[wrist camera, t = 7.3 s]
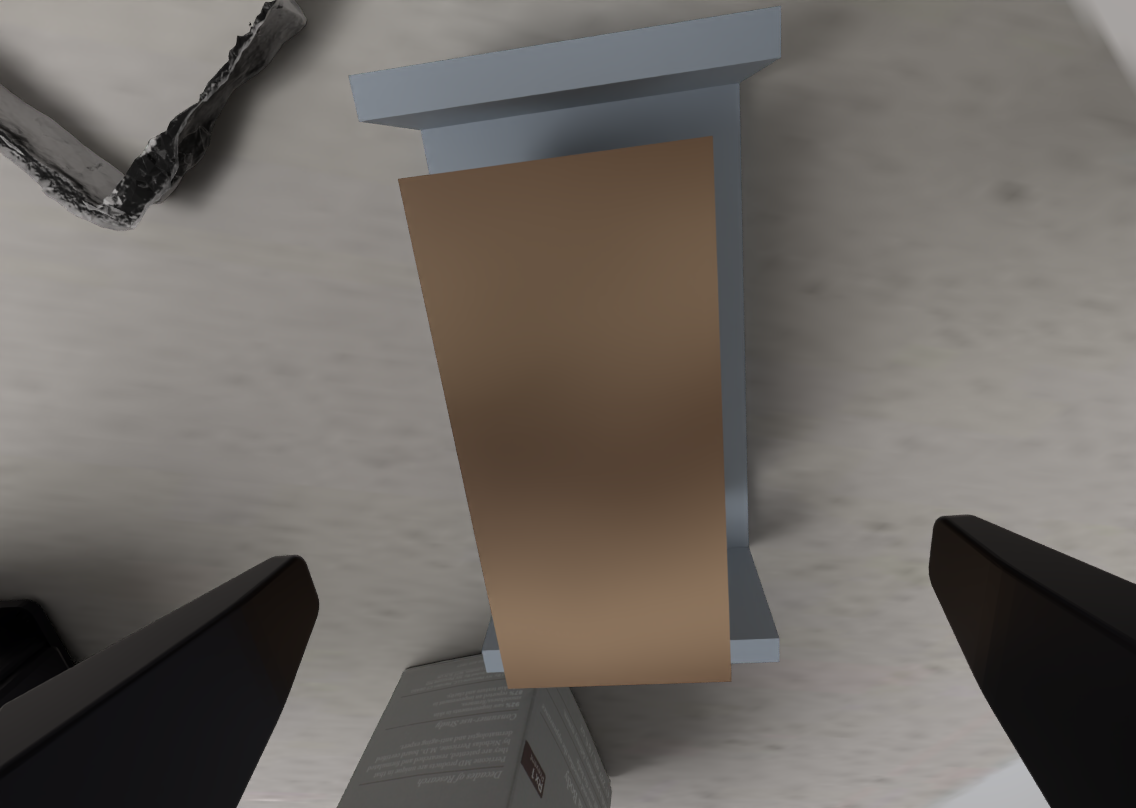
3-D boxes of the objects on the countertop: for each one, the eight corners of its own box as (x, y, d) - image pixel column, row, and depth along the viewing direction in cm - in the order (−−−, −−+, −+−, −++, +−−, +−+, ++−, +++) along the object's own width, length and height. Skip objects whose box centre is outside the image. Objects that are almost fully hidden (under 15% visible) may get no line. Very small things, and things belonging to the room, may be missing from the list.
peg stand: (743, 549, 21) (779, 661, 16) (514, 562, 22) (486, 672, 17) (731, 51, 15) (781, 5, 11) (425, 98, 16) (348, 75, 12)
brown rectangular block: (706, 566, 17) (731, 681, 13) (531, 576, 17) (507, 689, 14) (685, 142, 13) (712, 135, 9) (458, 173, 13) (397, 178, 10)
